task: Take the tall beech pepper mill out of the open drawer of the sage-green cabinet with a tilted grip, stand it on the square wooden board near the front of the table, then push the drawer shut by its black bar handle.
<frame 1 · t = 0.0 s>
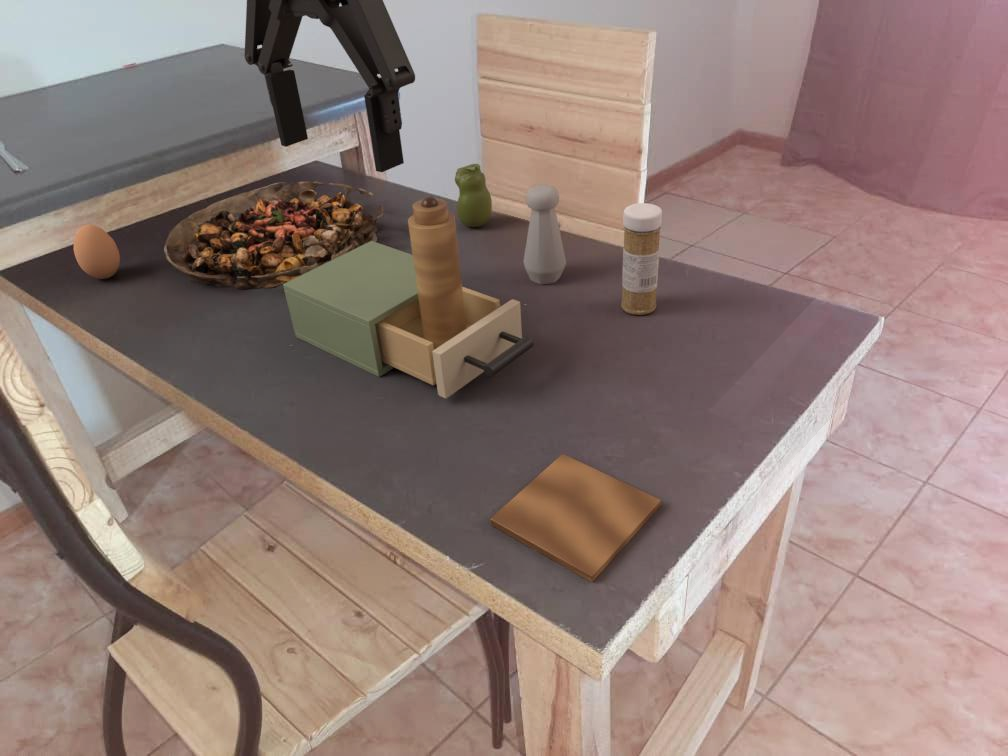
hand: (340, 154, 73), 27 cm above the table, tool pointing down, fingers open, 13 cm apart
egg: (106, 278, 116), on the table
pepper mill: (446, 346, 91), point 2 cm above the table, touching drawer
cabinet: (379, 330, 99), on the table
square wooden board: (576, 515, 70), on the table
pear: (475, 226, 124), on the table
salt shaker: (545, 278, 108), on the table
spice jar: (638, 309, 100), on the table
drawer: (450, 335, 90), point 4 cm above the table, slide at 9.0 cm, touching pepper mill
food dish: (279, 244, 122), on the table
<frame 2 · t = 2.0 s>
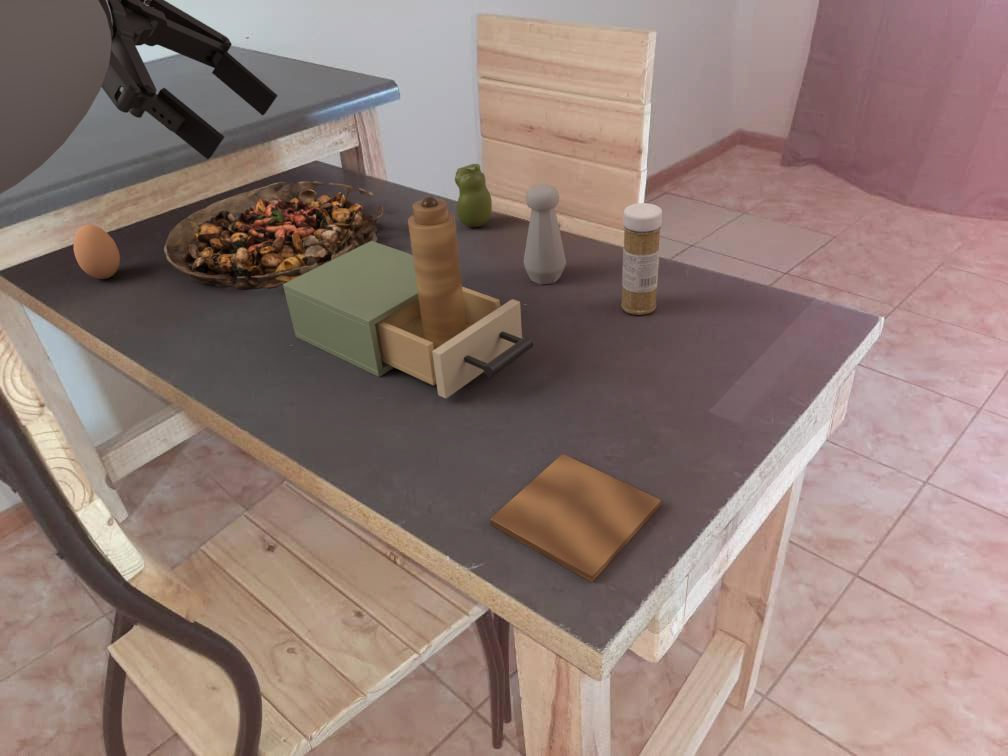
hand: (245, 125, 79), 28 cm above the table, tool tilted 45°, fingers open, 13 cm apart
nothing on the table moved.
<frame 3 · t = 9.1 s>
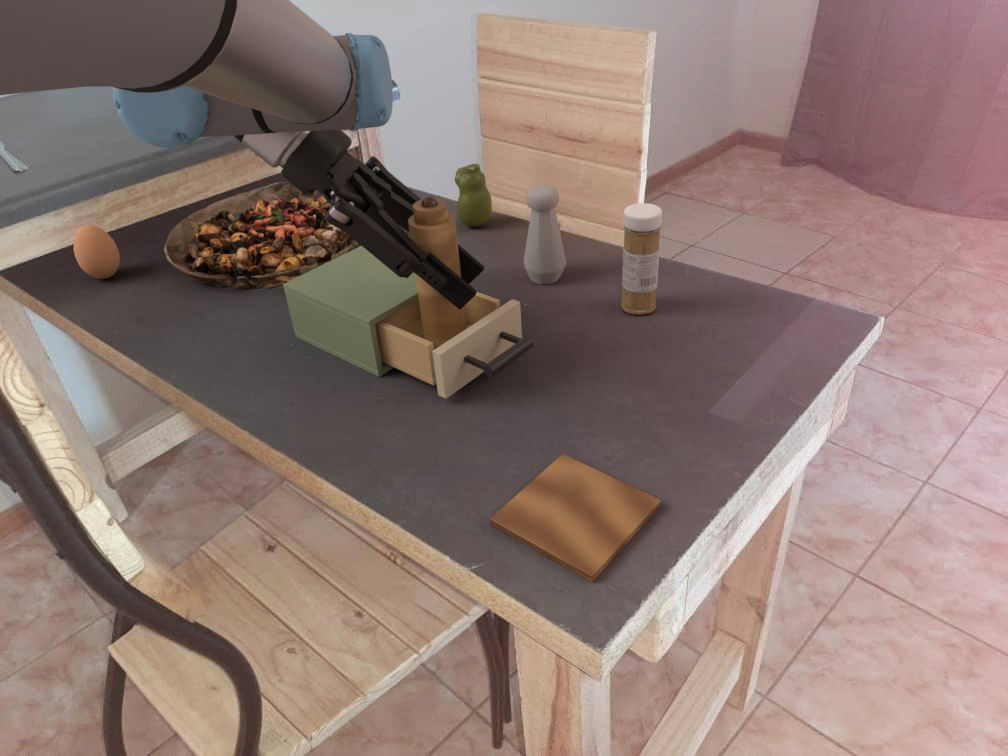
hand: (472, 287, 86), 10 cm above the table, tool tilted 45°, fingers closed on pepper mill, 5 cm apart
pepper mill: (446, 346, 91), point 2 cm above the table, touching drawer, gripper
everything else where it was.
when the fingers open (9 cm above the table, at t = 20.6 s): pepper mill stays where it is, resting on square wooden board.
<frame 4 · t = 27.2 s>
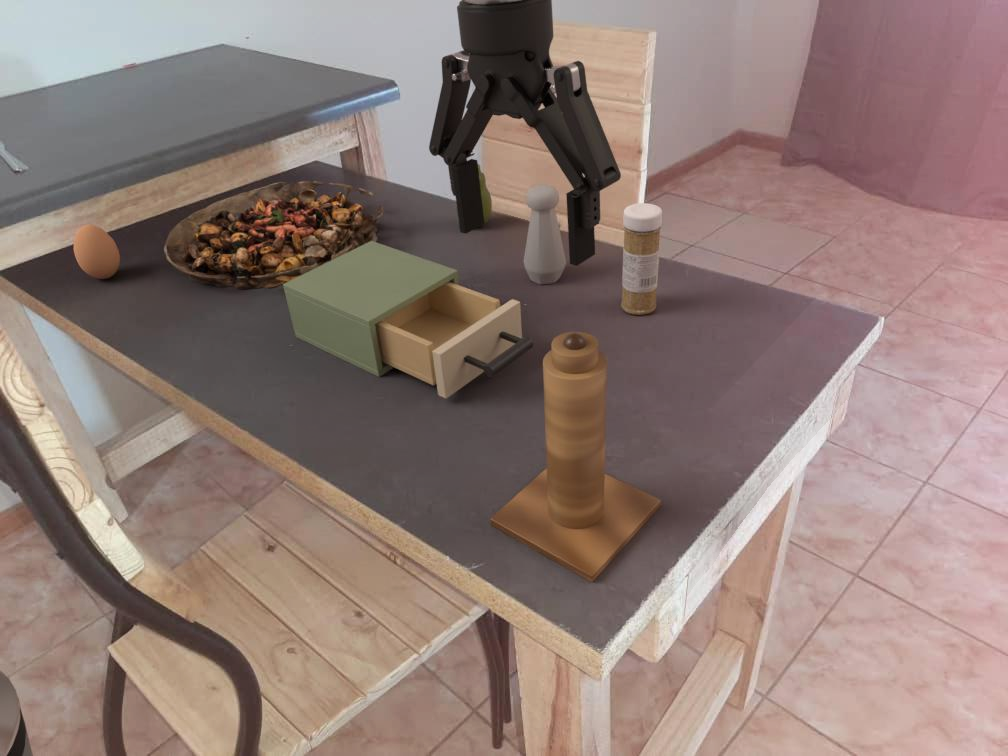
hand: (524, 243, 73), 19 cm above the table, tool pointing down, fingers open, 13 cm apart
pepper mill: (575, 508, 70), point 1 cm above the table, touching square wooden board
drawer: (450, 335, 90), point 4 cm above the table, slide at 9.0 cm
everything else where it was.
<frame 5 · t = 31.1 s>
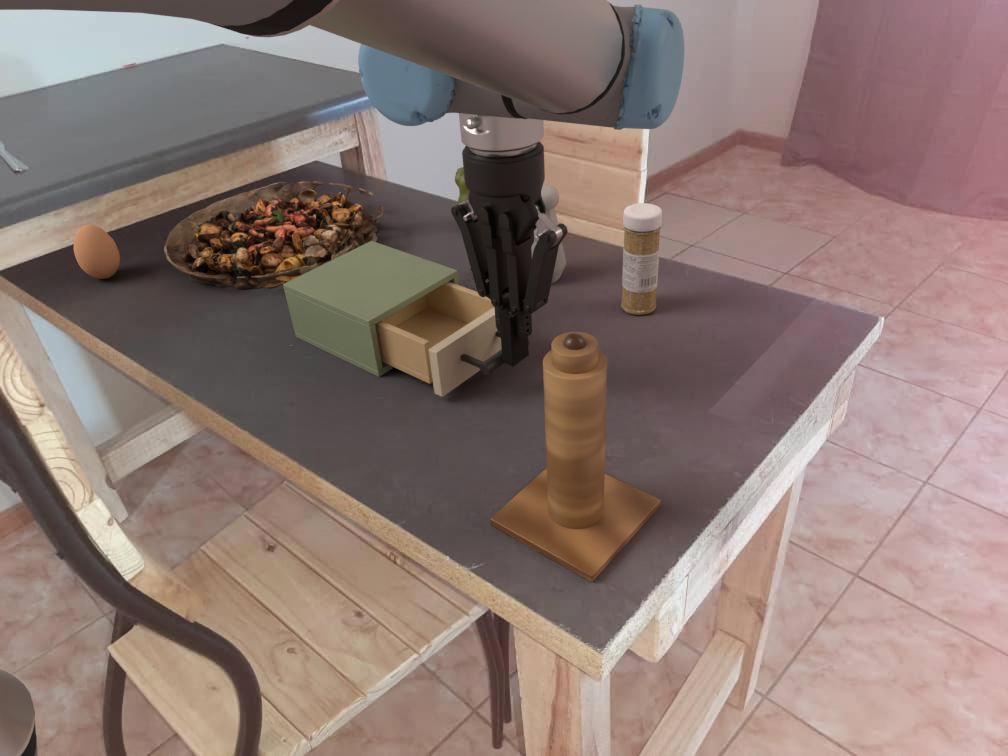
hand: (515, 358, 84), 4 cm above the table, tool pointing down, fingers closed
drawer: (447, 333, 90), point 4 cm above the table, slide at 8.4 cm, touching gripper
everything else where it was.
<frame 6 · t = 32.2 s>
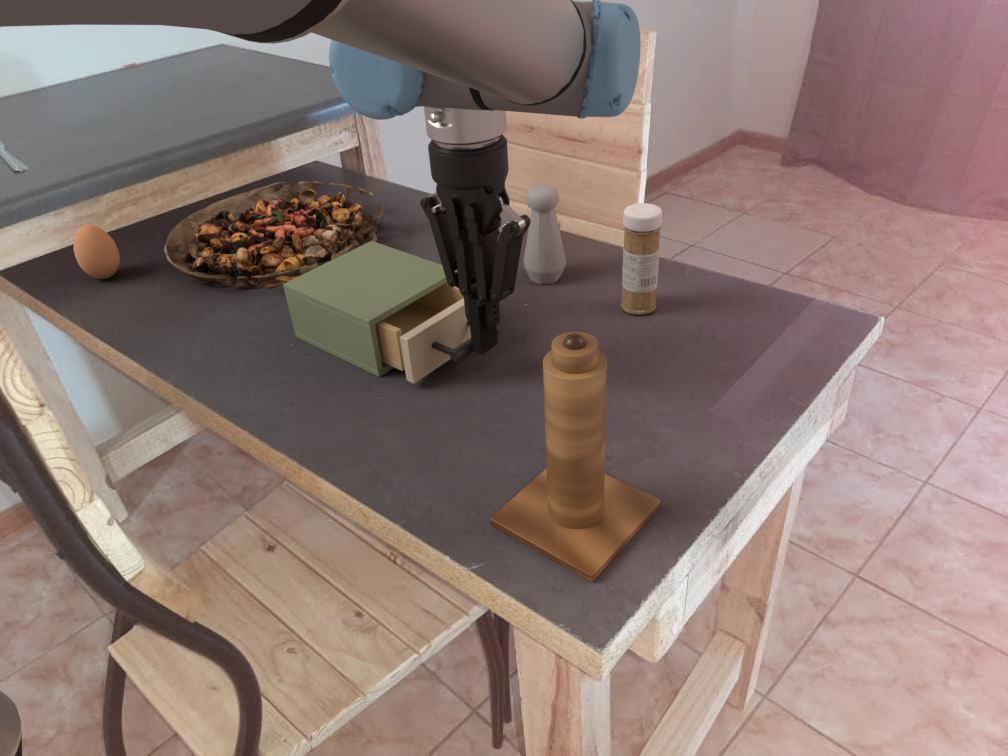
hand: (485, 347, 87), 4 cm above the table, tool pointing down, fingers closed
drawer: (420, 322, 92), point 4 cm above the table, slide at 4.1 cm, touching gripper
everything else where it was.
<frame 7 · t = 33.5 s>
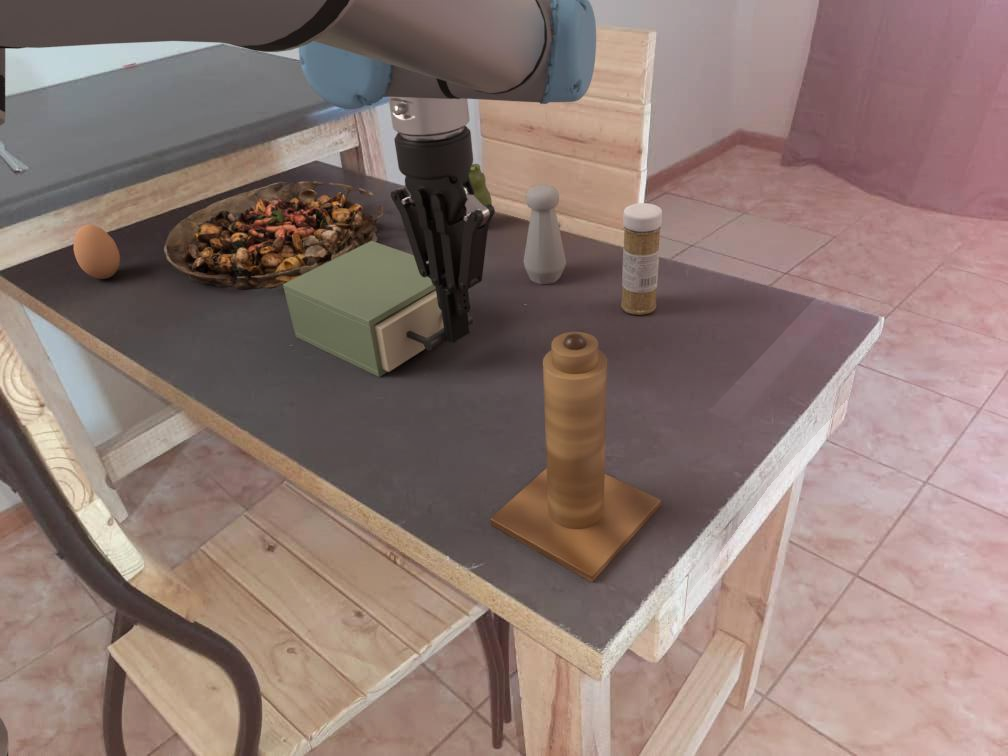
hand: (457, 335, 89), 4 cm above the table, tool pointing down, fingers closed
drawer: (396, 313, 94), point 4 cm above the table, slide at 0.0 cm, touching cabinet, gripper
everything else where it was.
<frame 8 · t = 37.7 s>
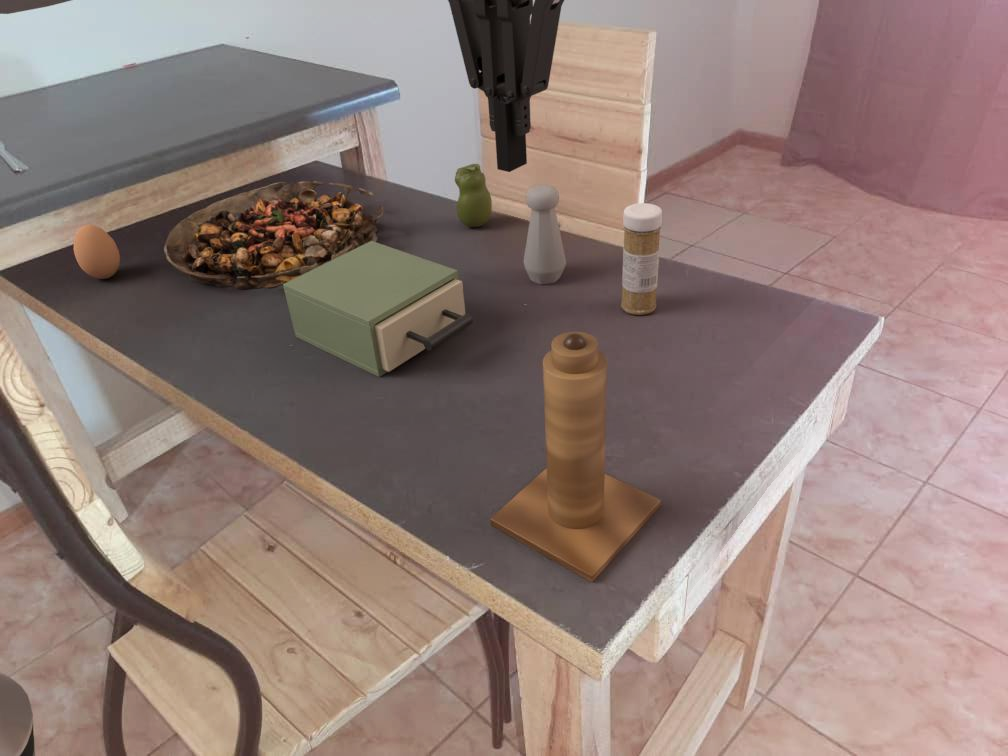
hand: (512, 166, 75), 24 cm above the table, tool pointing down, fingers closed
drawer: (396, 313, 94), point 4 cm above the table, slide at 0.0 cm, touching cabinet
everything else where it was.
at the end: pepper mill inside the target area on the square wooden board (0.0 cm from its centre), point 0.8 cm above the square wooden board's base; pepper mill tilted 0°; drawer slide at 0.0 cm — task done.
